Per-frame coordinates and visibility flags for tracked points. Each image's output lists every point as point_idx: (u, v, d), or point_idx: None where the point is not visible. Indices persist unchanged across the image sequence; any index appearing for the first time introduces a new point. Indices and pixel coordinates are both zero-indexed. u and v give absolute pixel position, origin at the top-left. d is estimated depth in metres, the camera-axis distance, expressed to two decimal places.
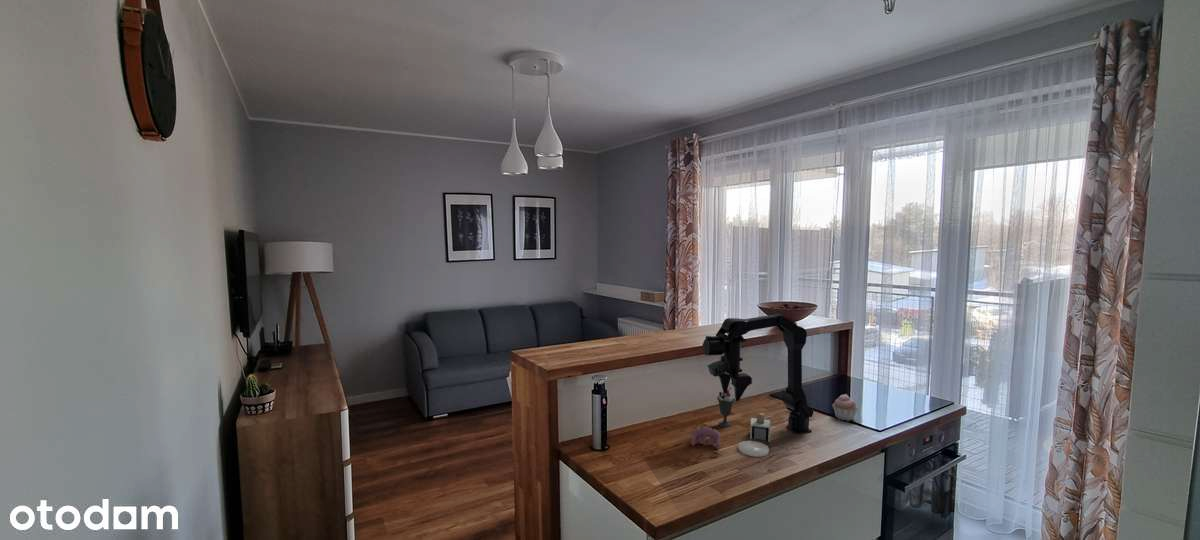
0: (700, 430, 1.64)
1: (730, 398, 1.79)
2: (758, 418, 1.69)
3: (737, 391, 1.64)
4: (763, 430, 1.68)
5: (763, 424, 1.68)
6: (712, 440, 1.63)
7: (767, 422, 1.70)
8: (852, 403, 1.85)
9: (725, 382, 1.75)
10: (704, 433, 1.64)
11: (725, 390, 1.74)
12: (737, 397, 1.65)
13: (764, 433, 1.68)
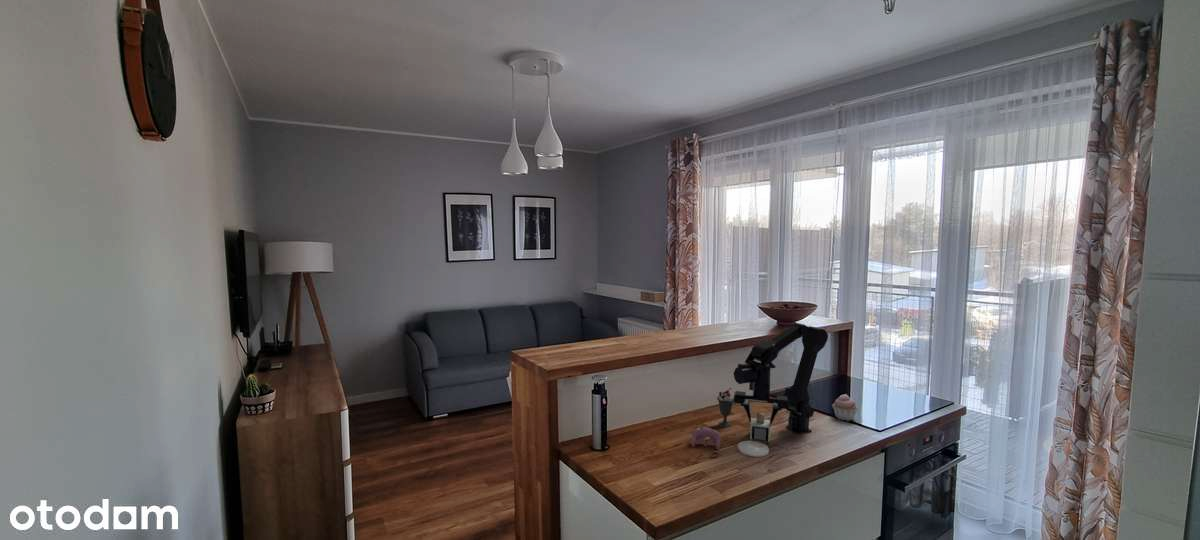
0: (700, 430, 1.64)
1: (730, 398, 1.79)
2: (758, 418, 1.69)
3: None
4: (763, 430, 1.68)
5: (763, 424, 1.68)
6: (712, 440, 1.63)
7: (767, 422, 1.70)
8: (852, 403, 1.85)
9: (771, 414, 1.69)
10: (704, 433, 1.63)
11: (770, 422, 1.69)
12: None
13: (764, 433, 1.68)
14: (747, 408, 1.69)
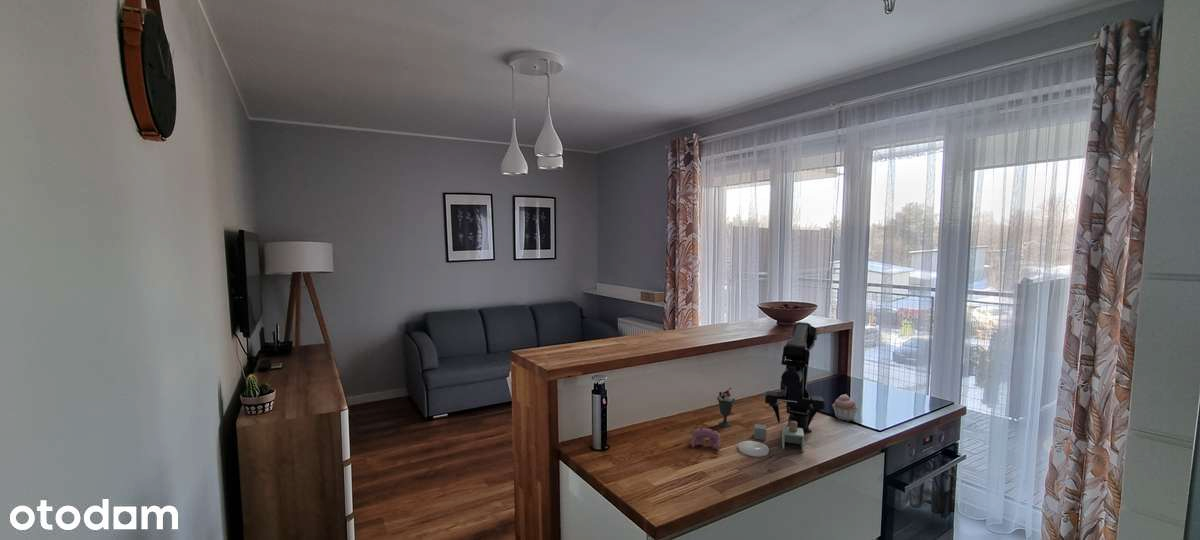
0: (700, 431, 1.63)
1: (730, 398, 1.79)
2: (791, 426, 1.62)
3: None
4: (763, 430, 1.68)
5: (796, 433, 1.61)
6: (712, 441, 1.62)
7: (800, 430, 1.63)
8: (852, 403, 1.85)
9: (808, 415, 1.61)
10: (704, 434, 1.62)
11: (807, 424, 1.61)
12: None
13: (764, 433, 1.68)
14: (776, 408, 1.62)
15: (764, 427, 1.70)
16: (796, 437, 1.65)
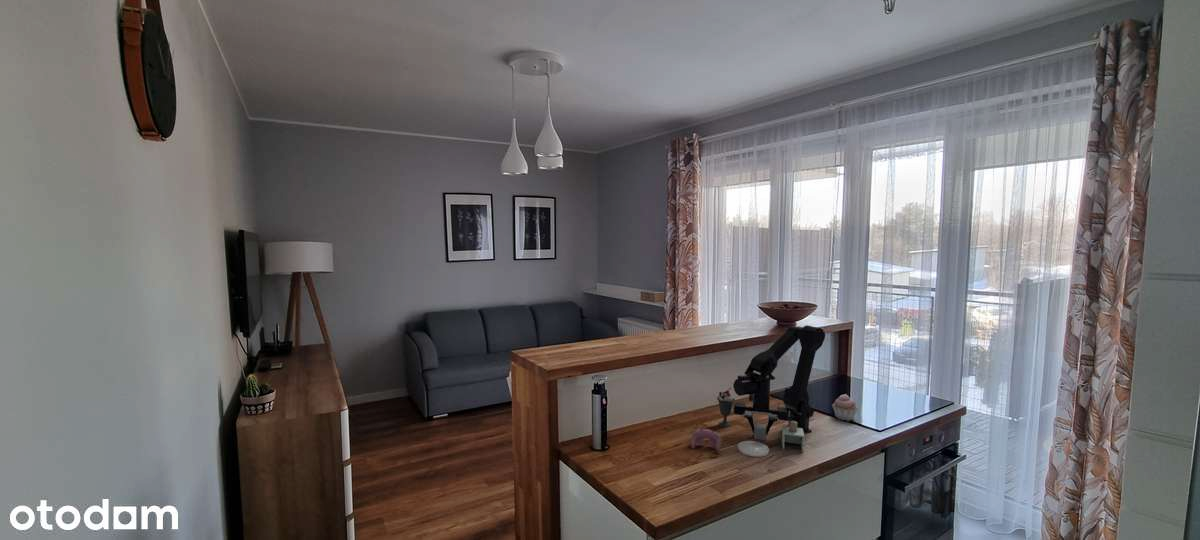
0: (700, 432, 1.63)
1: (730, 398, 1.79)
2: (791, 426, 1.62)
3: None
4: (763, 430, 1.68)
5: (796, 433, 1.61)
6: (712, 442, 1.62)
7: (800, 430, 1.63)
8: (852, 403, 1.85)
9: None
10: (704, 435, 1.62)
11: None
12: None
13: (764, 433, 1.68)
14: (750, 420, 1.69)
15: (764, 427, 1.69)
16: (796, 437, 1.65)
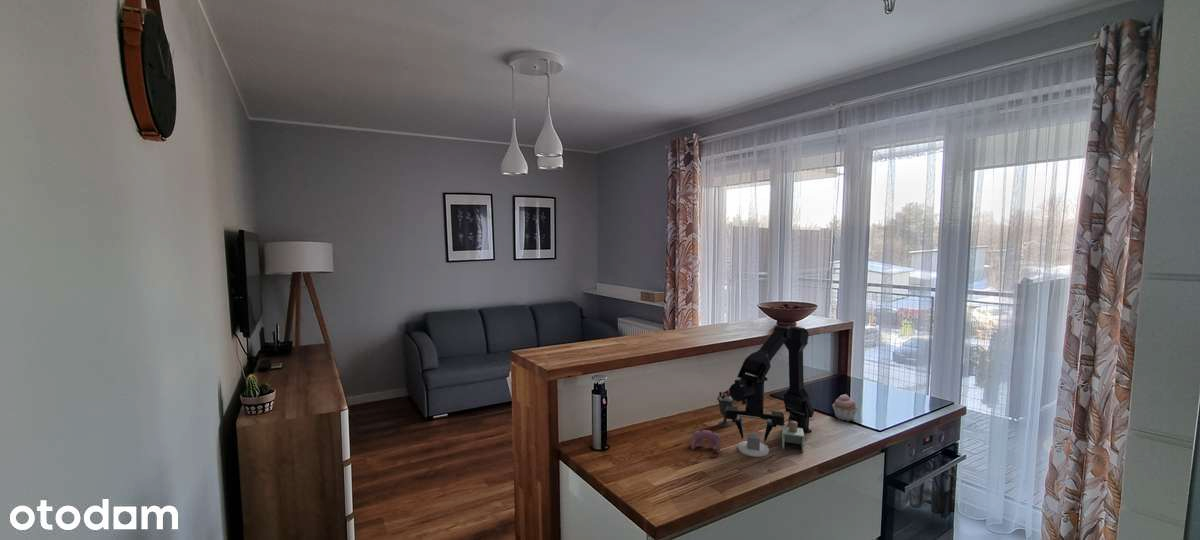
0: (700, 433, 1.62)
1: (730, 398, 1.79)
2: (791, 426, 1.62)
3: None
4: (757, 440, 1.58)
5: (796, 433, 1.61)
6: (712, 443, 1.61)
7: (800, 430, 1.63)
8: (852, 403, 1.85)
9: (765, 431, 1.58)
10: (704, 436, 1.61)
11: (764, 439, 1.59)
12: None
13: (758, 443, 1.57)
14: (739, 424, 1.59)
15: (758, 436, 1.59)
16: (796, 437, 1.65)
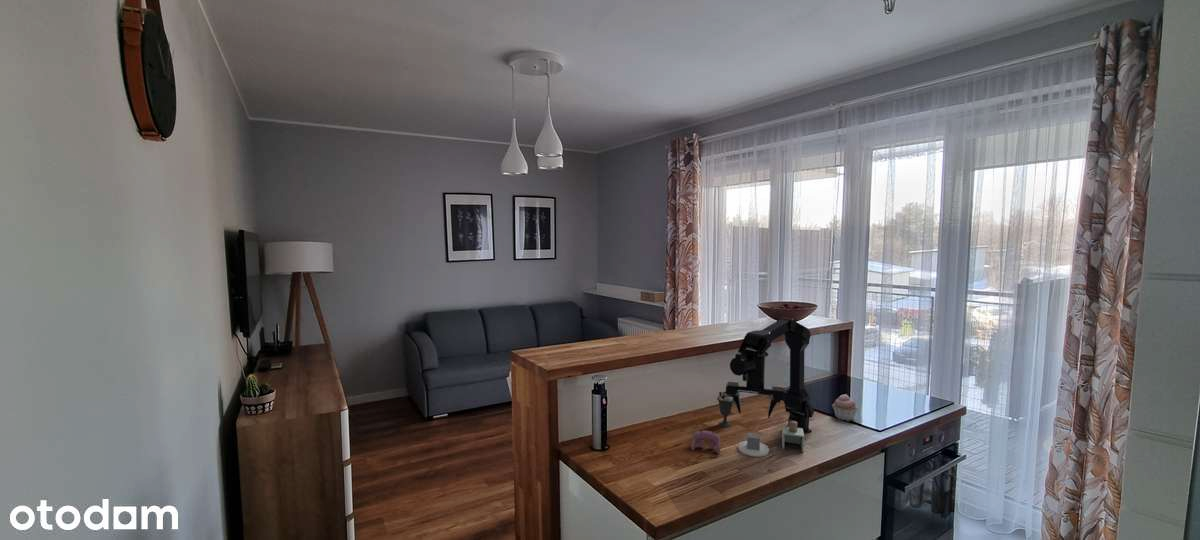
0: (700, 434, 1.61)
1: (730, 398, 1.79)
2: (791, 426, 1.62)
3: None
4: (757, 440, 1.58)
5: (796, 433, 1.61)
6: (712, 444, 1.60)
7: (800, 430, 1.63)
8: (852, 403, 1.85)
9: (769, 406, 1.57)
10: (704, 437, 1.61)
11: (768, 415, 1.58)
12: None
13: (758, 443, 1.57)
14: (736, 399, 1.58)
15: (758, 436, 1.59)
16: (796, 437, 1.65)
